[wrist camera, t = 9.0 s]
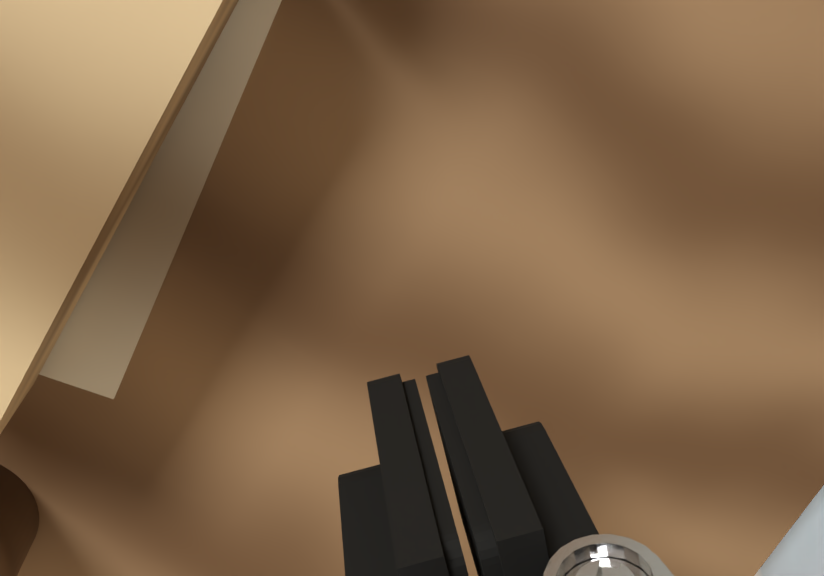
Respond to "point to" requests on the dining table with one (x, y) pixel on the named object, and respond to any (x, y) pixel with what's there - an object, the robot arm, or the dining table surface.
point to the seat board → (449, 283)
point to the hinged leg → (79, 147)
